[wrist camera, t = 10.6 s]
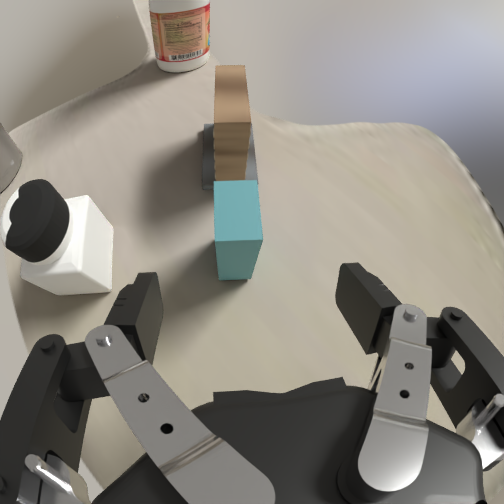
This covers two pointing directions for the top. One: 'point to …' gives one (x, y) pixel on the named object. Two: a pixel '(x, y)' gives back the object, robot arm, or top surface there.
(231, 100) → the brown block
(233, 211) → the teal block
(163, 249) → the top surface
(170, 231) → the top surface
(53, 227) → the medicine bottle
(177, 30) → the fruit juice
